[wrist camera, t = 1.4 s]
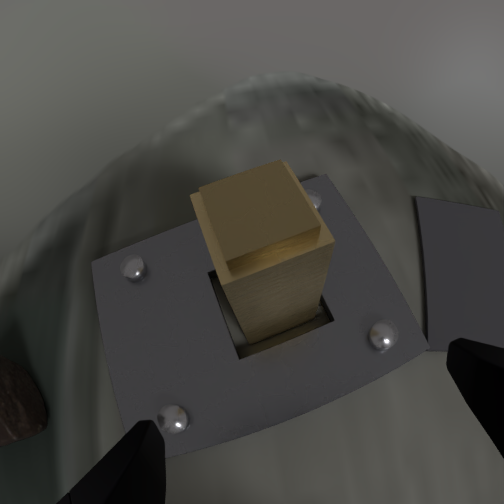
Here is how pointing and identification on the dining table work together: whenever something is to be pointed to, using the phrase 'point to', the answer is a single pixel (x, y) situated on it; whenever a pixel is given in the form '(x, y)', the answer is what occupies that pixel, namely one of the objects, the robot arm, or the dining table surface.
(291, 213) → the stepped brass square peg
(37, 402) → the dark brown bone
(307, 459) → the dining table surface
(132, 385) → the square hole plate
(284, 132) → the dining table surface
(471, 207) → the rubber mat
